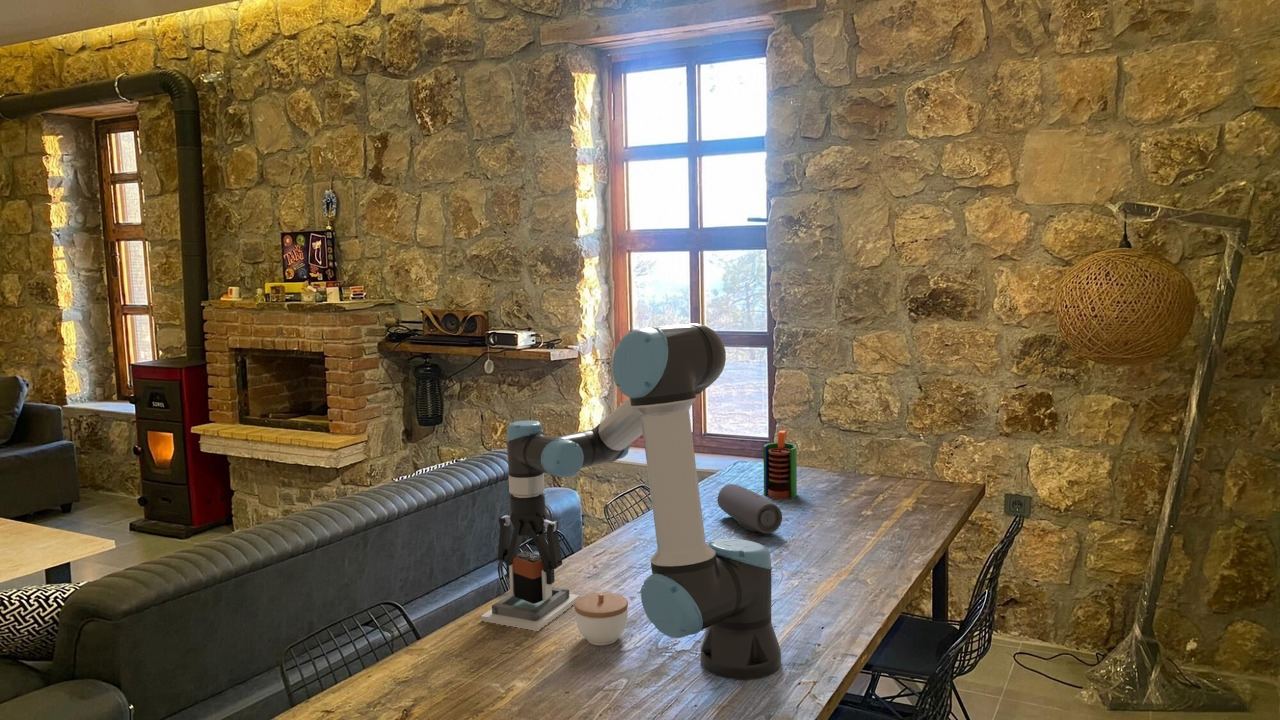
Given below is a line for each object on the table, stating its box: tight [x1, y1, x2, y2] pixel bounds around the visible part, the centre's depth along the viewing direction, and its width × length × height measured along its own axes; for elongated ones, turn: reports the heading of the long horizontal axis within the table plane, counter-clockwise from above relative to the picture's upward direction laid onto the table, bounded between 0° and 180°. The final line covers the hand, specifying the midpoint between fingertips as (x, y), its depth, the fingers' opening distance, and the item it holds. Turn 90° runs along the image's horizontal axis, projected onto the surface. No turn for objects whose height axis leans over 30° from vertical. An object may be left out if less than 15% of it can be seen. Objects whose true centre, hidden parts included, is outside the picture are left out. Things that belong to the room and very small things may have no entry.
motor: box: [763, 430, 798, 500], centre depth 285 cm, size 10×9×20 cm
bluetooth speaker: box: [717, 483, 783, 534], centre depth 255 cm, size 23×9×10 cm, turn 22°
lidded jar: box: [573, 592, 629, 647], centre depth 184 cm, size 11×11×9 cm
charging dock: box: [480, 586, 580, 632], centre depth 199 cm, size 18×14×3 cm
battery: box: [513, 551, 545, 604], centre depth 199 cm, size 4×7×10 cm, turn 47°
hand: (531, 595), depth 199 cm, fingers closed on battery, 7 cm apart
